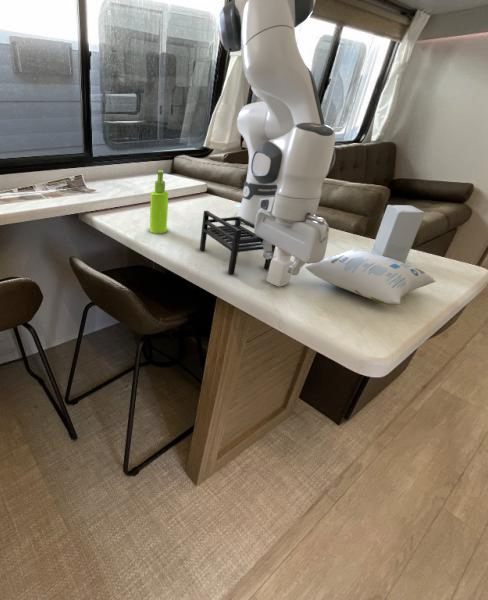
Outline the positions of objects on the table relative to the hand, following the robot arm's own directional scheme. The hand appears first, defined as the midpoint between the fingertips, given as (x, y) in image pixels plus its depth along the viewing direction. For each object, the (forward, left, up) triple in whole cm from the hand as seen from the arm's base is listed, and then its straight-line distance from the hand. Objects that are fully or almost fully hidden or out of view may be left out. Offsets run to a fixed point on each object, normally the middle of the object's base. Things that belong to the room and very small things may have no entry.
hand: (279, 265), depth 78 cm
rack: (+2, -16, -5) cm, 17 cm away
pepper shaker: (-1, 0, -5) cm, 5 cm away
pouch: (-18, +8, -5) cm, 20 cm away
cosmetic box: (-38, -3, -5) cm, 38 cm away
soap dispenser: (+14, -46, -5) cm, 48 cm away
